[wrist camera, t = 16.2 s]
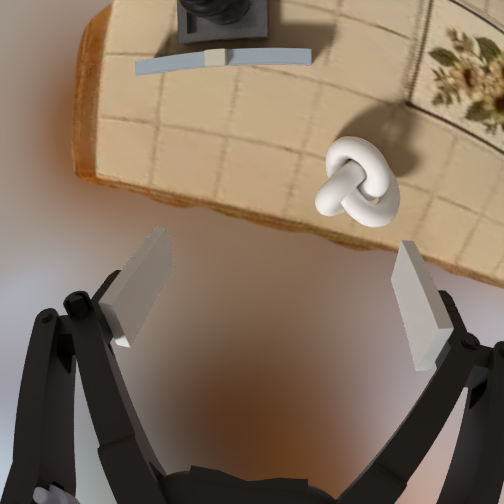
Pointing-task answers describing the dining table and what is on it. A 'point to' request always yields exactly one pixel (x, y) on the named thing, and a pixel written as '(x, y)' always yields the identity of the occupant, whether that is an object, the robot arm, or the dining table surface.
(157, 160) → the dining table surface
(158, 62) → the door edge plank
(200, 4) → the supplement bottle
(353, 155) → the white trefoil knot
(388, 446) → the robot arm
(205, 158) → the dining table surface
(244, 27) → the keeper frame
